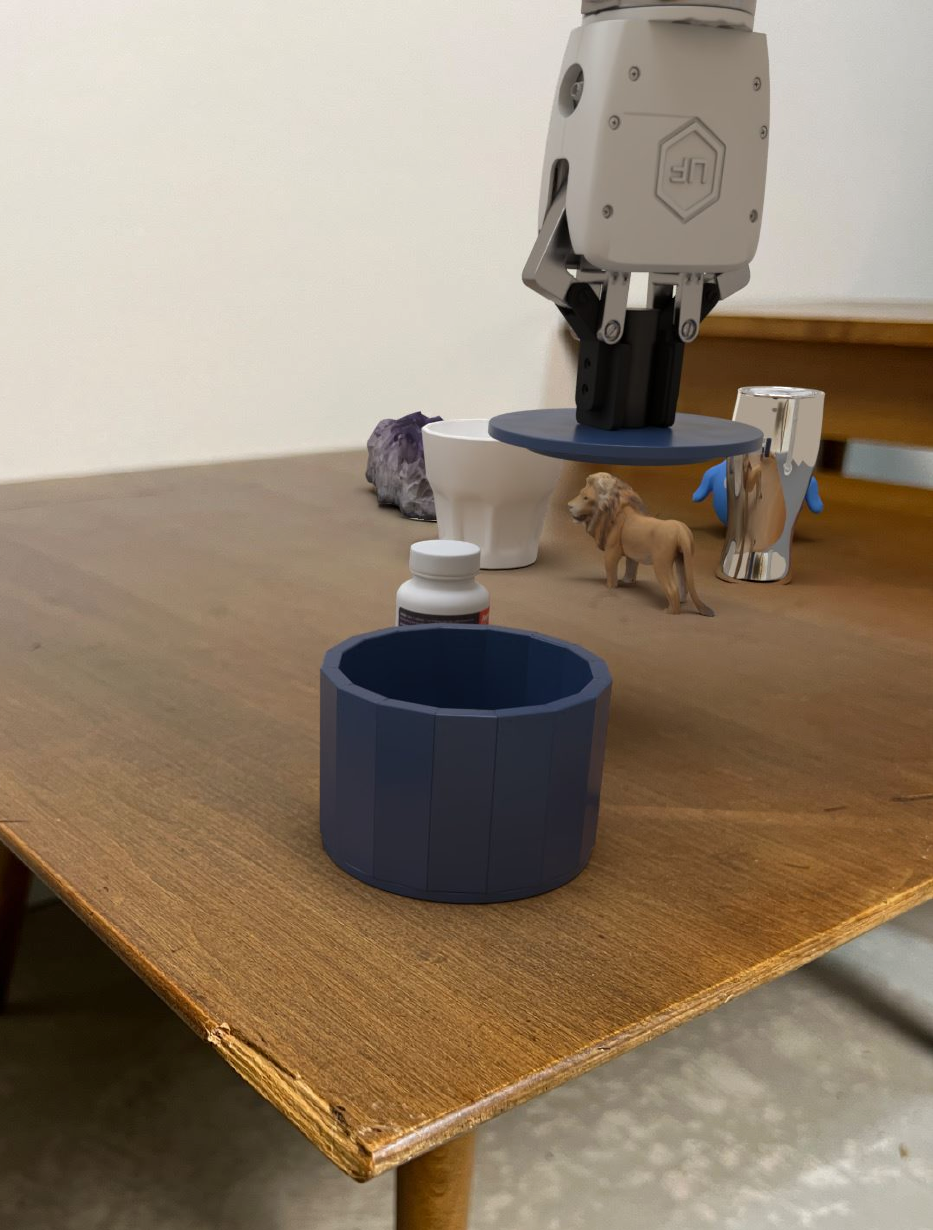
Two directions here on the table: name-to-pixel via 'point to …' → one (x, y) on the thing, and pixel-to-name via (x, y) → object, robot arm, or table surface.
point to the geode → (401, 465)
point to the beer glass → (769, 482)
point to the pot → (461, 760)
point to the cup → (488, 491)
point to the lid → (629, 420)
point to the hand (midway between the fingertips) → (624, 421)
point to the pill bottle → (443, 585)
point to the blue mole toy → (717, 484)
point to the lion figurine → (637, 538)
